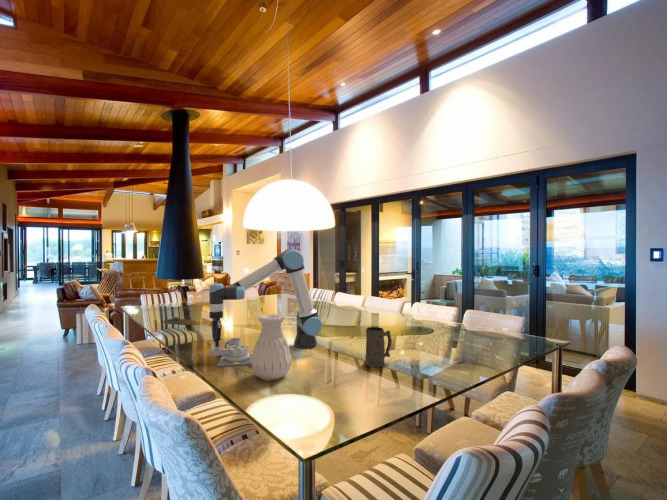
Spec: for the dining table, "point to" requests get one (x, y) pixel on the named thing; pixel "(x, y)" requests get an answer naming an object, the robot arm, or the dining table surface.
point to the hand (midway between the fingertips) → (216, 352)
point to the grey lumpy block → (230, 351)
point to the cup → (233, 342)
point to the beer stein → (376, 346)
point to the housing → (235, 360)
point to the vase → (271, 350)
